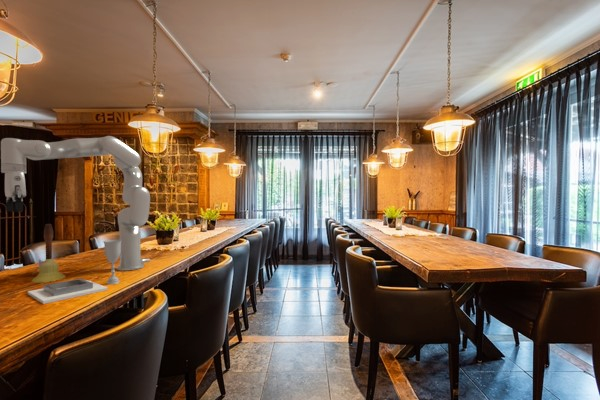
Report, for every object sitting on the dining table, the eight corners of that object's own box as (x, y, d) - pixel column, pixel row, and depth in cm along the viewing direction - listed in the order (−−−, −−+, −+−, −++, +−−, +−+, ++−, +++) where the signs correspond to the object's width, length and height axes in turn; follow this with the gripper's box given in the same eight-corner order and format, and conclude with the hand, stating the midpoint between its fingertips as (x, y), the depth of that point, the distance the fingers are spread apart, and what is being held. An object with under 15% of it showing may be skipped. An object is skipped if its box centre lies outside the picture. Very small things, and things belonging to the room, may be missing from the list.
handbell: (24, 283, 134) (24, 225, 134) (40, 276, 145) (39, 223, 145) (58, 281, 137) (57, 224, 137) (70, 274, 149) (70, 222, 149)
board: (88, 282, 134) (88, 280, 134) (107, 290, 122) (107, 287, 122) (27, 293, 118) (27, 291, 118) (43, 304, 106) (43, 301, 106)
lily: (44, 278, 147) (56, 259, 151) (16, 270, 144) (29, 250, 148) (52, 280, 157) (63, 262, 161) (27, 273, 154) (38, 254, 158)
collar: (81, 283, 129) (80, 278, 129) (92, 288, 121) (92, 283, 121) (43, 290, 119) (43, 285, 119) (53, 296, 112) (53, 290, 112)
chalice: (99, 283, 132) (99, 241, 132) (115, 280, 138) (115, 239, 138) (110, 285, 128) (109, 242, 128) (126, 281, 134) (125, 240, 134)
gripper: (32, 168, 124) (32, 211, 124) (20, 171, 134) (21, 211, 134) (6, 167, 118) (7, 212, 118) (-4, 170, 128) (-3, 211, 128)
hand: (14, 211), depth 126 cm, fingers open, 9 cm apart
